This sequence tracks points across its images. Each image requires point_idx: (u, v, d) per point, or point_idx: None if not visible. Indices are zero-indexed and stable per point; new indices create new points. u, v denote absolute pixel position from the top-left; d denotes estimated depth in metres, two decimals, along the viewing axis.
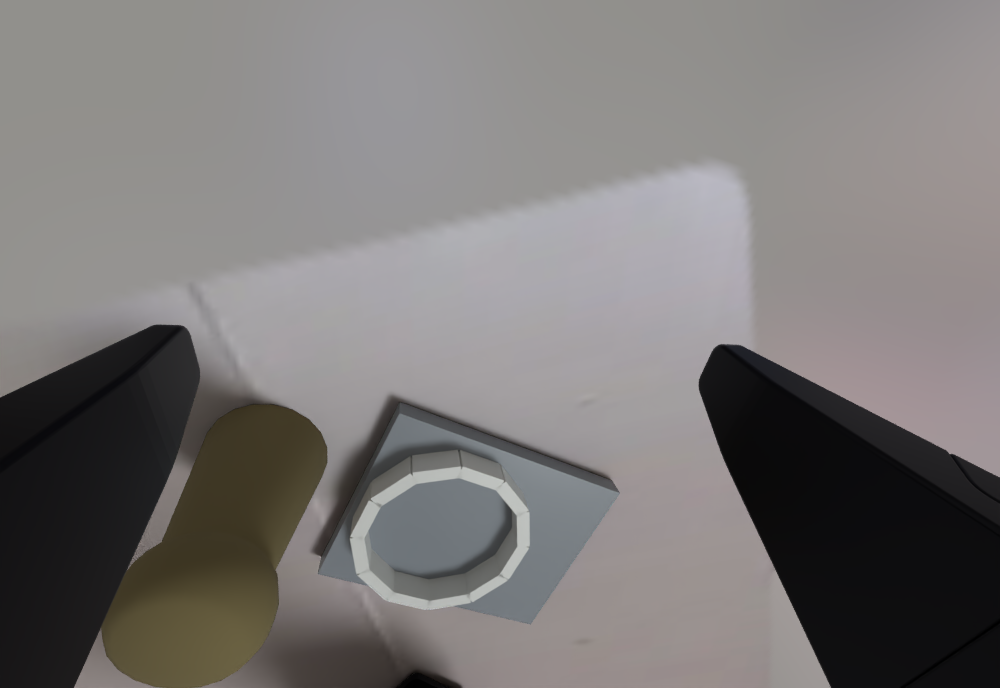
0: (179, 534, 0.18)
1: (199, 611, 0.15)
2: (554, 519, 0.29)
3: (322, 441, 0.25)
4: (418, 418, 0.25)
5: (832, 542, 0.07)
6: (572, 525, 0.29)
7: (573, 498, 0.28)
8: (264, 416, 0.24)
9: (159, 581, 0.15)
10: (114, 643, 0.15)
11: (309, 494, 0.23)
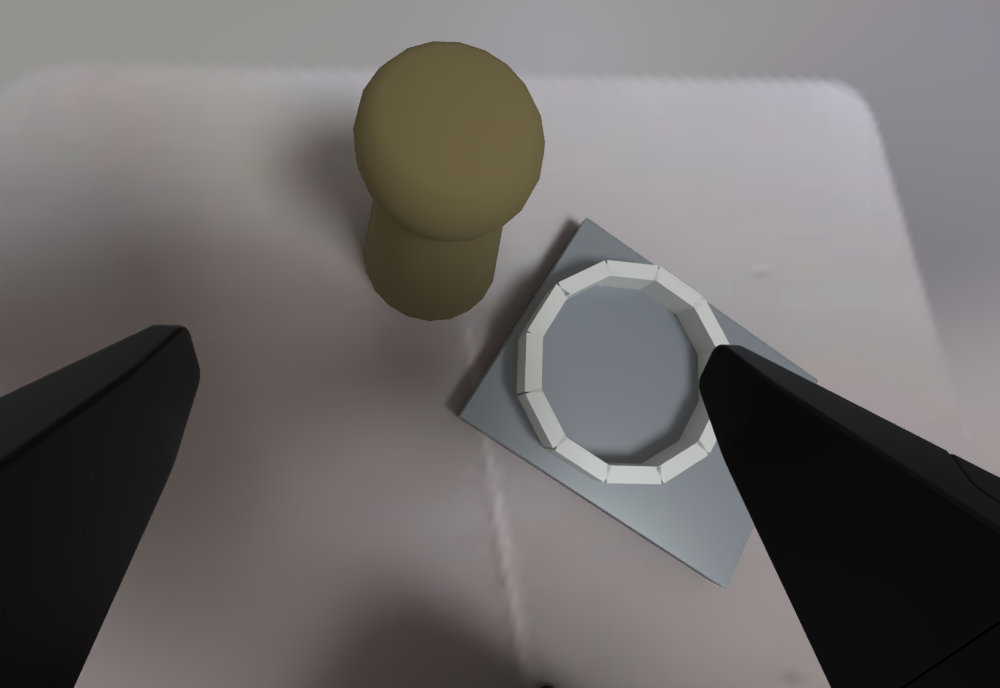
0: None
1: (497, 67, 0.13)
2: None
3: None
4: (603, 231, 0.23)
5: (832, 542, 0.07)
6: None
7: None
8: None
9: None
10: (391, 77, 0.12)
11: None
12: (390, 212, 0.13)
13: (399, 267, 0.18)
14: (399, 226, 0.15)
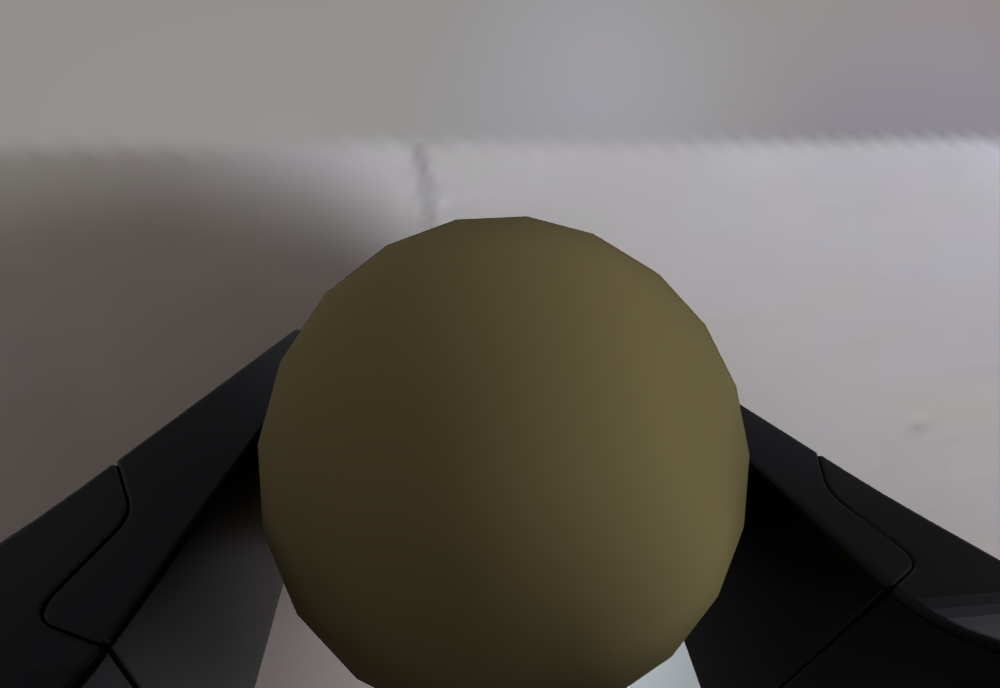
0: None
1: (647, 299, 0.05)
2: None
3: None
4: None
5: None
6: None
7: None
8: None
9: (521, 219, 0.05)
10: (353, 364, 0.04)
11: None
12: None
13: None
14: None
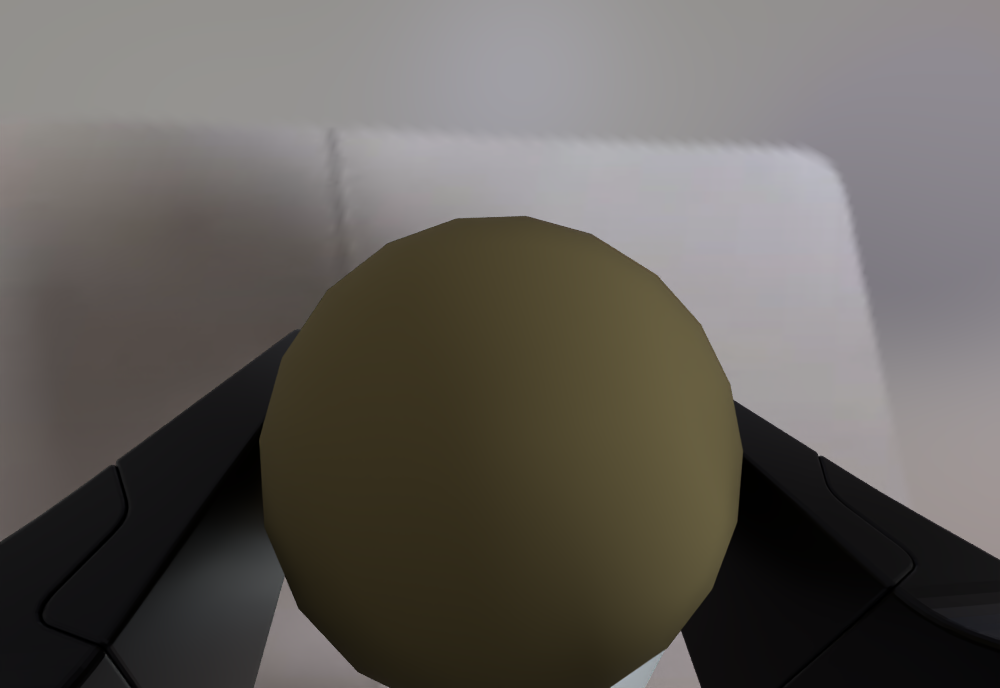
0: None
1: (644, 299, 0.05)
2: None
3: None
4: None
5: None
6: None
7: None
8: None
9: (521, 218, 0.05)
10: (356, 359, 0.04)
11: None
12: None
13: None
14: None
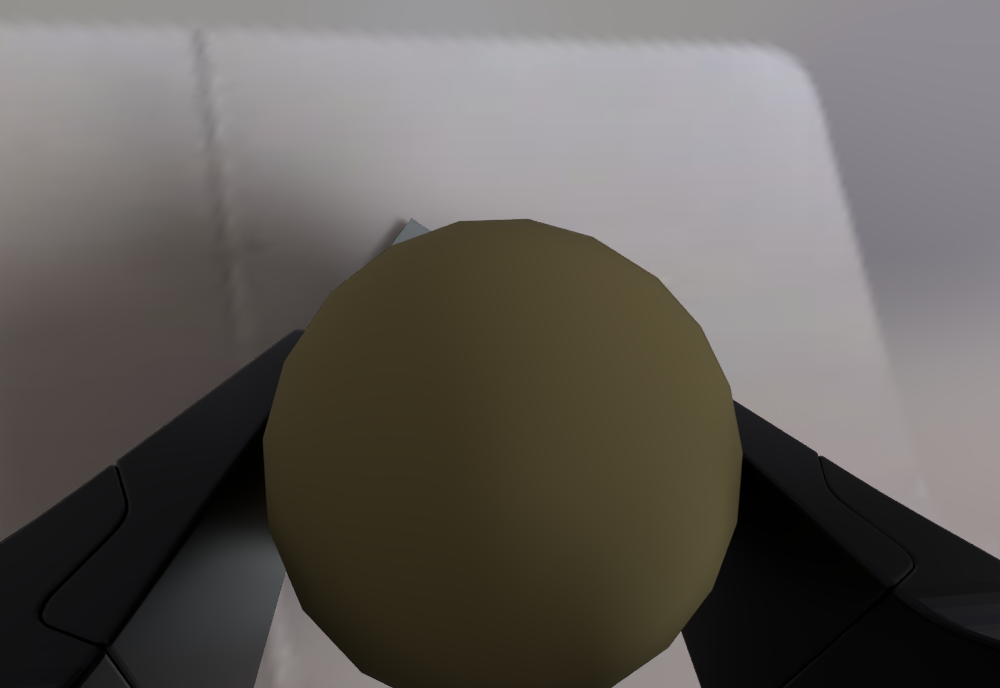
0: None
1: (644, 301, 0.05)
2: None
3: None
4: None
5: None
6: None
7: None
8: None
9: (523, 221, 0.05)
10: (360, 361, 0.04)
11: None
12: None
13: None
14: None
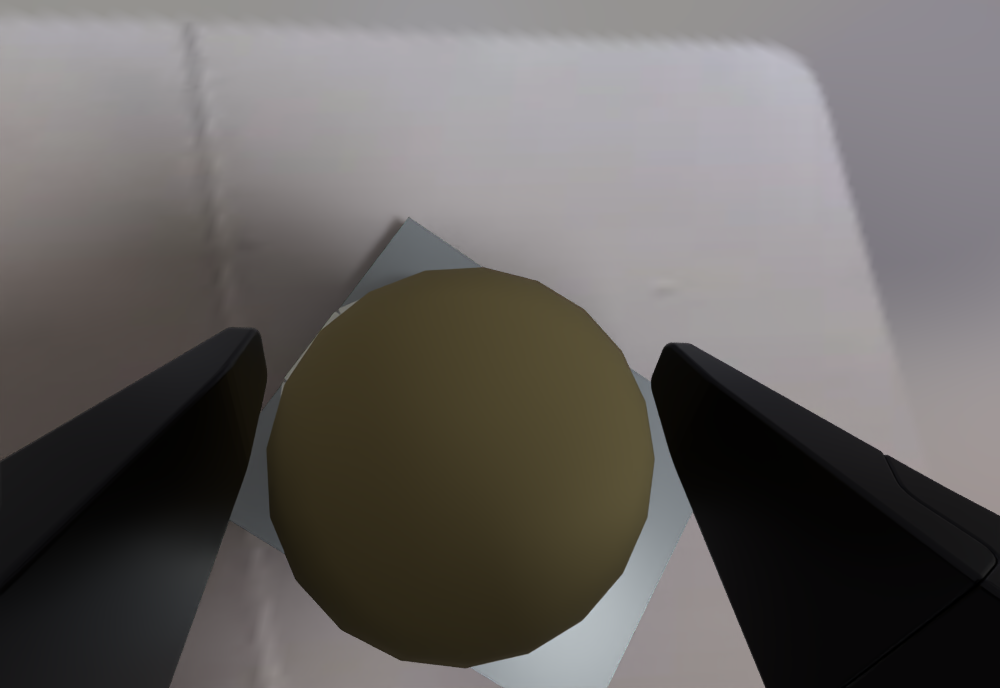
0: None
1: (571, 339, 0.06)
2: None
3: None
4: (433, 235, 0.17)
5: (768, 545, 0.07)
6: (657, 487, 0.17)
7: (657, 429, 0.17)
8: None
9: (477, 270, 0.06)
10: (339, 389, 0.05)
11: None
12: None
13: None
14: None
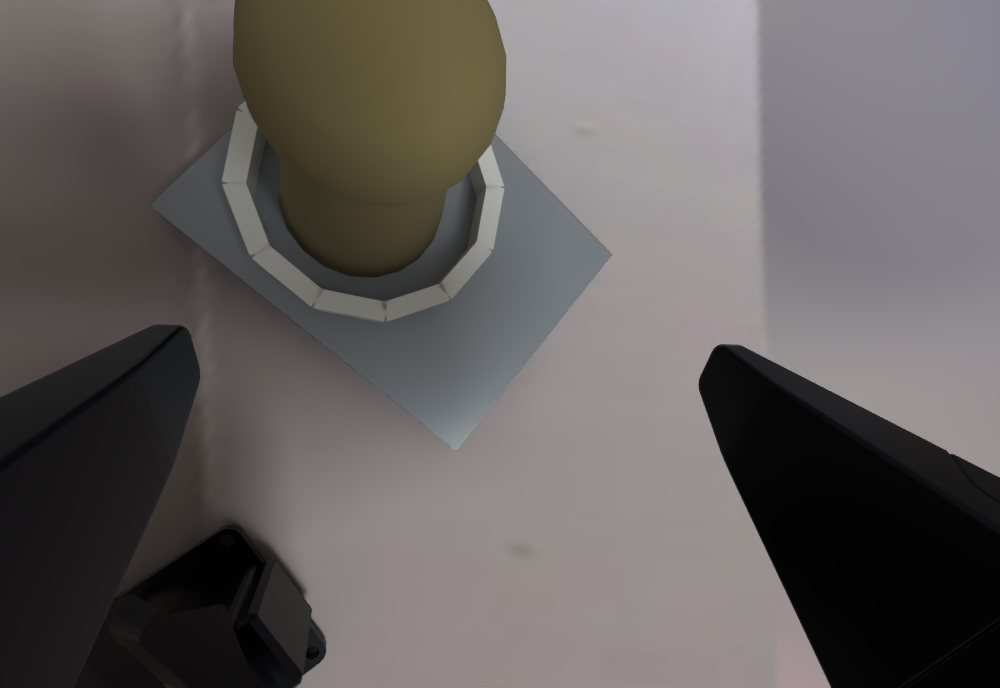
0: None
1: None
2: (525, 260, 0.21)
3: None
4: None
5: (832, 542, 0.07)
6: (546, 281, 0.21)
7: (554, 236, 0.21)
8: None
9: None
10: None
11: (440, 211, 0.17)
12: (278, 153, 0.09)
13: (308, 214, 0.14)
14: None
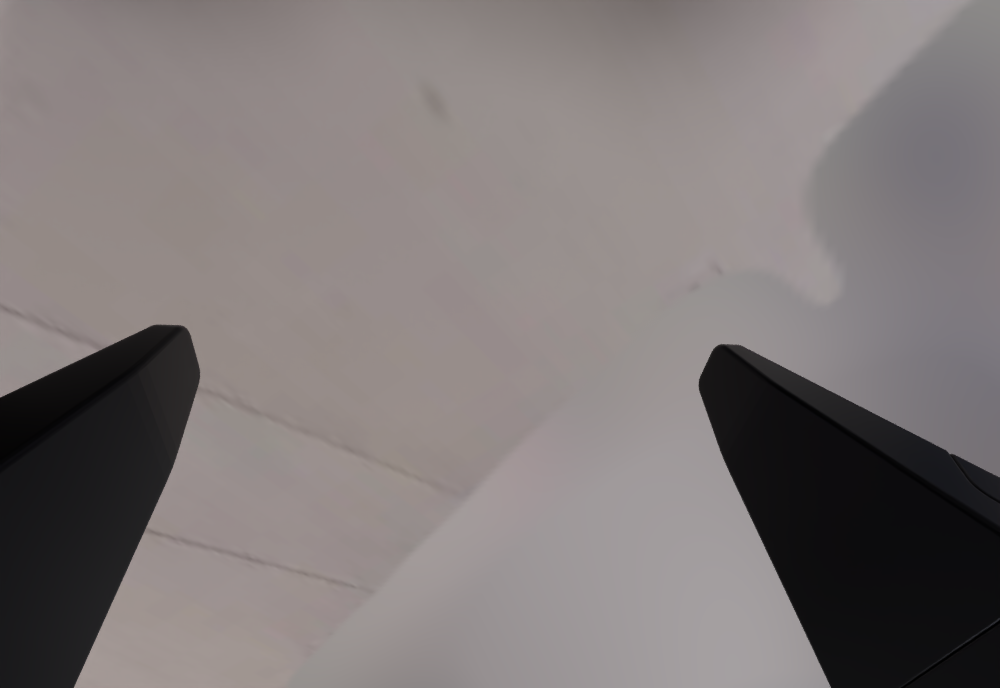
0: None
1: None
2: None
3: None
4: None
5: (832, 542, 0.07)
6: None
7: None
8: None
9: None
10: None
11: None
12: None
13: None
14: None
